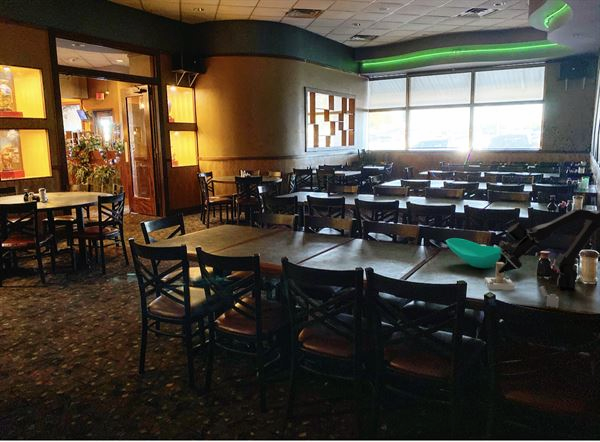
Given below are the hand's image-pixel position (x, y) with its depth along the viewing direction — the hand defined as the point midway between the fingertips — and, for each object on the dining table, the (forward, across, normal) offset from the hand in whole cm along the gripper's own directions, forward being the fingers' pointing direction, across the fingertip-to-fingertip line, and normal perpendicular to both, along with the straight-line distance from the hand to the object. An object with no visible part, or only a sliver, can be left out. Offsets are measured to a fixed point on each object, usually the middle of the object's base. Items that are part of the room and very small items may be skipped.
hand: (496, 269), depth 222 cm
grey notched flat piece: (-5, +26, +17) cm, 31 cm away
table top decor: (+6, -35, +6) cm, 36 cm away
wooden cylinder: (+5, 0, +7) cm, 8 cm away
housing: (+5, 0, +7) cm, 8 cm away
